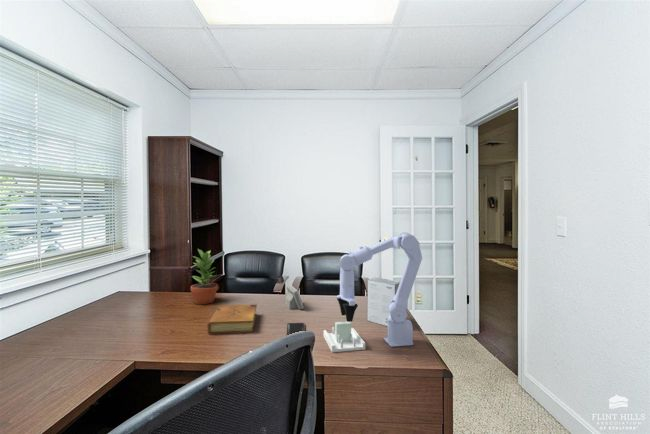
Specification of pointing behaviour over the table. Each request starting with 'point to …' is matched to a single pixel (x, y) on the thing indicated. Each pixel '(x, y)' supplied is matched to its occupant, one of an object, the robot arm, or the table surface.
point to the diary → (233, 319)
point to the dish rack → (344, 342)
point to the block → (342, 330)
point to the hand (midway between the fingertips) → (346, 318)
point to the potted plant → (204, 280)
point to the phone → (295, 327)
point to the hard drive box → (380, 299)
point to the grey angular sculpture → (293, 298)
